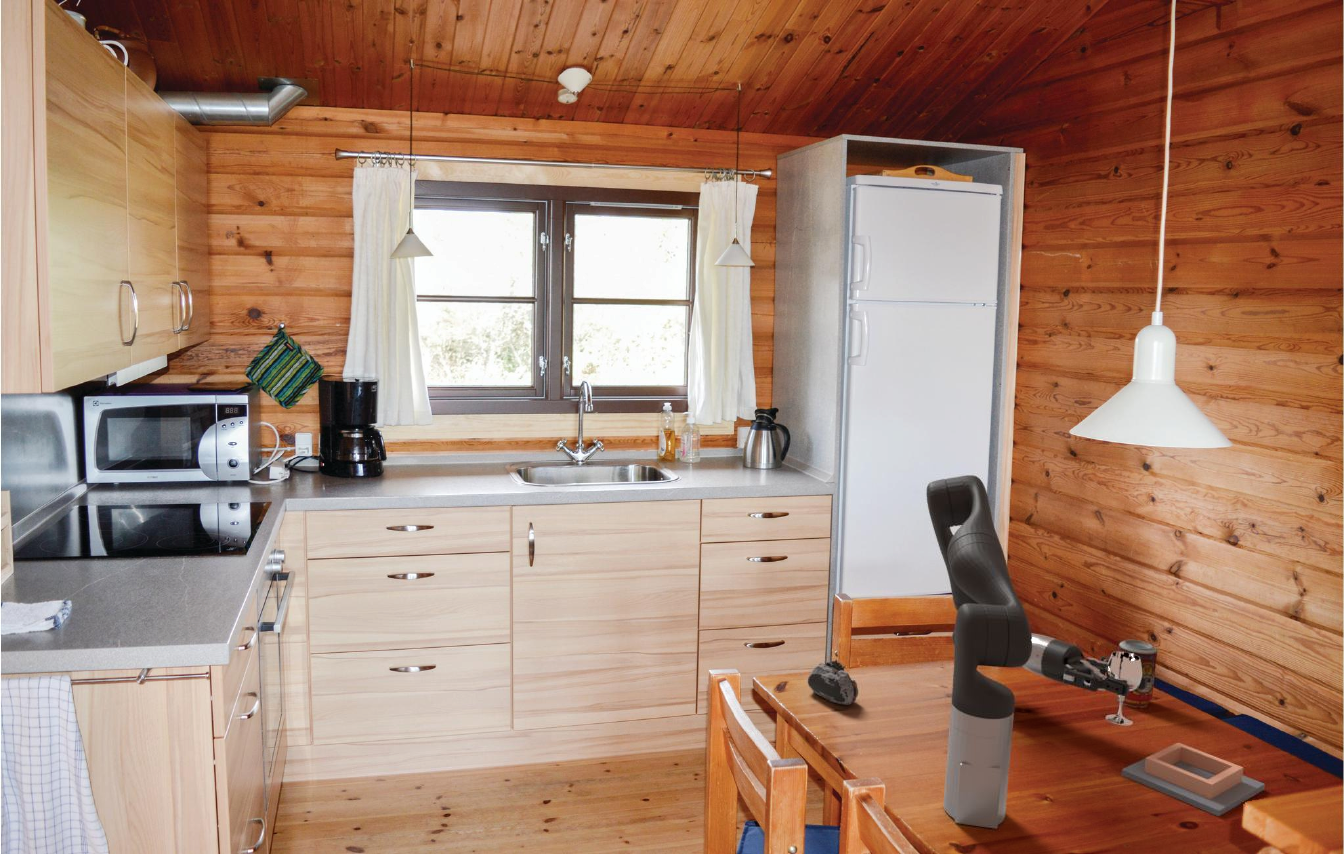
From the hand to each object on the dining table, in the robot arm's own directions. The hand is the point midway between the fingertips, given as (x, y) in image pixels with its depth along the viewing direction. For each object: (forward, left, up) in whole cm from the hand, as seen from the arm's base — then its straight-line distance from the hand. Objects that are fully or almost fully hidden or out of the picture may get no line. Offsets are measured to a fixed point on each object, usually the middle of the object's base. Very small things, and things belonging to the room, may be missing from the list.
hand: (1136, 687), depth 173 cm
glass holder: (-8, -8, -13) cm, 17 cm away
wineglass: (+2, +2, -7) cm, 8 cm away
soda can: (+26, -6, -13) cm, 30 cm away
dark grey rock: (+10, +52, -13) cm, 54 cm away
